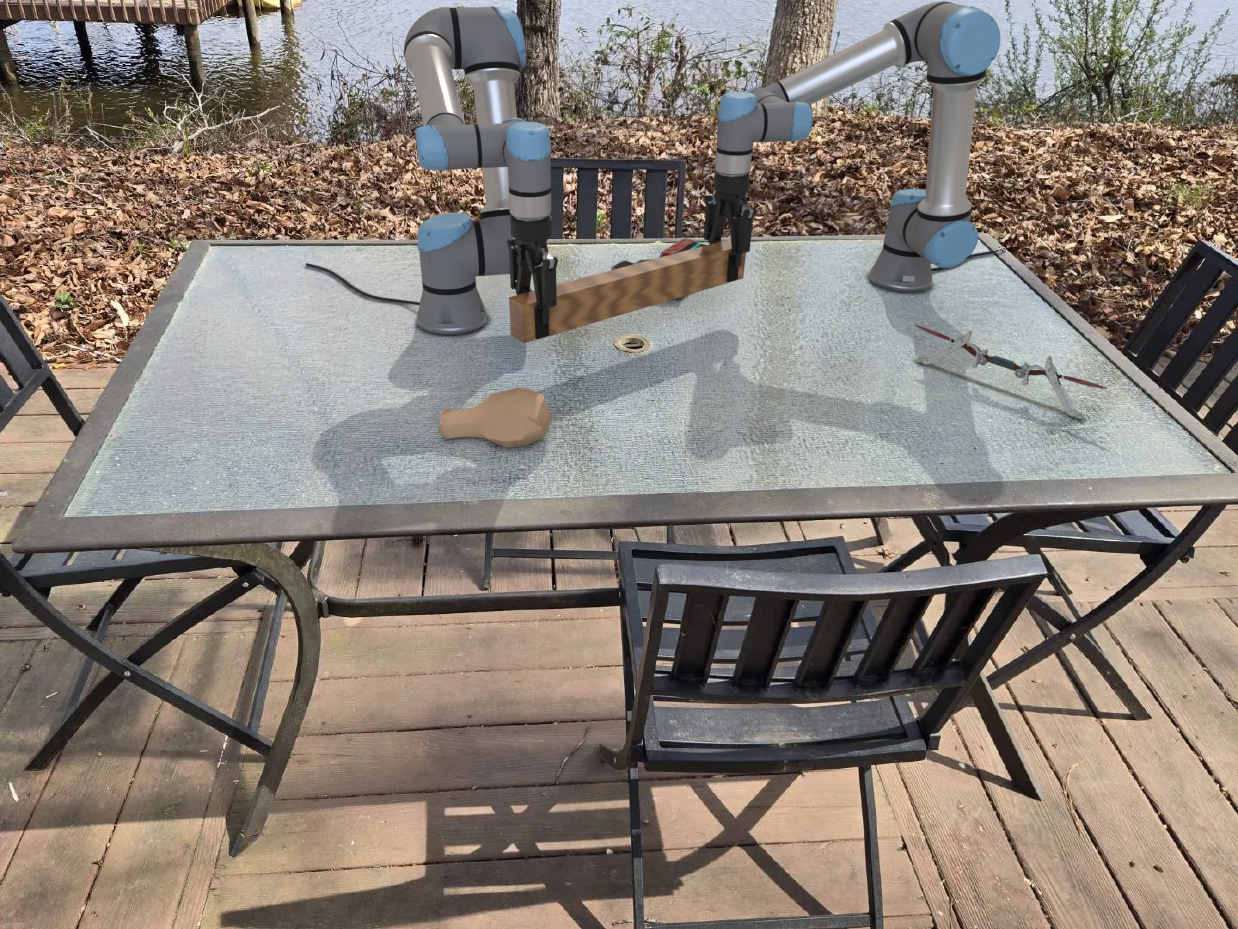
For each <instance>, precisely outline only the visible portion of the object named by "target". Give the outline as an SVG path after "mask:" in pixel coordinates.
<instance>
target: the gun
mask: <svg viewBox="0 0 1238 929" xmlns="http://www.w3.org/2000/svg"><path fill="white" fill-rule="evenodd" d="M706 245H707V244H704V243H700V242H697V241H695V239H692V238H687V237H686V238H682V239H680V240H678V241H677V242H675V243H673V244H672V245H669V247H666V248H665V249H663V250H661V252H660V254H659V256H658V257H657V258H660V257H664V256H668V255H672V254H675V253H679V252H683V251H687V250H691V249H694V248H698V247H702V246H706ZM708 245H710V244H709V243H708ZM653 259H654V258H652V259H651V258H649V259H639V260H636V262H631V261H629V260H626V259H623V260H621V261H620V262H617V263H616V264H613V265H612V266H611V270H614V269H618V268H622V267H626V266H630V265H633V264H637V263H641V262H645V261H649V260H653ZM681 298H682V297H679V298H678V299H681Z"/></svg>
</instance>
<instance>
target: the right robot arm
mask: <svg viewBox="0 0 1238 929" xmlns="http://www.w3.org/2000/svg"><path fill="white" fill-rule="evenodd" d="M1000 47H1001V31H1000V27H999V25H998V22H997V20H996V19H995V18H994V17H993V16H992V15H991V14H990V13H988V12H986V11H984V10H983V9H981V8H980V7H979V8H978V7H976V6H969V5H963V4H958V3H955V2H951V1H944V0H942V1H933V2H930V3H927V4H925V5H922V6H919V7H917V8H915V9H912V10H910V11H908V12H907V13H904V14H902V15H900V16H898V17H896V18H893V19H892V20H890V21H888V22H886V23H885V24H884V25H883V27H882V30H881V31H878V32H876V33H874V34H872V35H871V36H868V37H866V38H865V39H862V40H860V41H858V42H856V43H853V44H852V45H850V46H848V47H846V48H843V49H842V50H840V51H838V52H836V53H833V54H832V55H830V56H828V57H825V58H823V59H821V60H818V61H817V62H814V63H813V64H811V65H809V66H806V67H804V68H803V69H801V70H798V71H796V72H794V73H793V74H790V75H788V76H786V77H784V78H781V79H780V80H778V81H775V82H773V83H770V84H769V85H767V86H765V87H764V86H752V87H749V88H748V89H746V90H745V91H730V92H726V93H724V94H723V95H722V96H721V98H720V101H719V105H718V106H719V107H718V115H717V134H716V148H715V149H716V151H715V157H714V158H715V160H714V170H715V172H714V174H713V185H712V186H713V187H712V188H713V190H714V193H711V194H707V195H705V196H704V197H703V198H704V204H705V212H704V226H703V239H704V240H705V241H707V242H708V245H709V244H713V243H717V242H721V241H723V239H722V237H723V234H724V230H725V226H726V223H729V233H730V239H731V246H732V252H730V253H729V259H728V271H727V282H730V283H733V282H736V281H739V280H738V270H739V267H740V266H741V258H742V254H743V253H746V254H747V253H750V251H751V243H752V233H753V223H754V222H753V221H754V217H755V215H756V213H757V209H756V208H755V207H750V206H749V205H748V203H747V202H748V201H747V198H746V196H747V194H748V192H749V189H750V180H751V174H750V173H749V172H751V166H752V156H753V148H754V143H781V142H784V143H785V142H787V143H788V142H790V143H793V142H798V141H804V140H806V139H807V138H808V137H809V136H810V134H811V132H812V129H813V124H814V123H813V122H814V116H813V115H814V114H813V110H812V108H811V105H814V104H815V103H819V102H820V101H822V100H824V99H826V98H828V97H830V96H832V95H835V94H837V93H838V92H841V91H844V90H845V89H847V88H849V87H851V86H853V85H855V84H857V83H859V82H863V81H864V80H867V79H868V78H870V77H872V76H874V75H877V74H878V73H880V72H883V71H885V70H887V69H889V68H891V67H896V68H898V69H899V68H903V67H904V66H907V65H908V64H909V65H910V64H912V63H916V62H917V63H918V62H927V63H926V64H927V65H926V82H927V84H928V85H930V87H932V89H933V90H932V100H931V102H932V103H931V116H930V128H929V129H930V130H929V141H928V142H929V143H928V144H929V145H928V156H927V171H926V182H925V183H926V185H925V189H922V188H906V189H900V190H897V191H895V193H894V194H893V196H892V198H891V203H890V205H889V207H890V208H889V212H888V218H887V223H886V228H885V234H884V239H883V244H882V249H881V251H880V253H879V254H878V256H877V258H876V261H875V262H874V265H872V267H871V269H870V272H869V276H868V277H869V281H870V282H871V283H872V284H873V285H874V286H877V287H878V288H881V289H883V290H887V291H889V292H890V291H891V292H896V293H904V294H905V293H906V294H915V293H921V292H925V291H928V290H929V289H930V288H931V287H932V284H933V283H932V282H933V273H932V272H938V271H943V270H947V269H950V268H953V267H957V266H958V265H960V264H962V263H964V262H965V261H966V260H969V259H972V258H976V257H982V256H988V255H993V254H995V253H997V252H998V251H1002V252H1003V253H1005V252H1006V249H1005V247H1003V249H1004V250H1005V251H1003V250H1002V249H1000V250H996V251H992V250H989V251H983V252H975V253H974V251H975V249H976V247H977V246H978V241H979V231H978V229H977V227H976V226H975V224H974V223H973V222H971V218H972V210H973V209H972V208H973V206H972V205H973V203H972V202H971V201H970V199H968V198H967V196H966V195H967V187H968V177H969V176H968V175H969V168H970V158H971V157H970V156H971V147H972V137H973V129H974V128H973V127H974V117H975V106H976V98H977V87H978V86H979V84H980V83H981V82H982V81H984V80H985V78H986V75H987V69H988V68H989V67H991V65H992V61H994V60H996V58H997V56H998V52H999V51H1000ZM737 247H738V248H737ZM998 247H999V248H1000V247H1001V246H998ZM932 265H934V266H935V267H932ZM735 280H736V281H735ZM732 281H733V282H732Z"/></svg>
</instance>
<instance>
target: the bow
mask: <svg viewBox="0 0 1238 929" xmlns="http://www.w3.org/2000/svg"><path fill="white" fill-rule="evenodd" d="M914 326H915V327H916V328H918V329H920V330H921V331H924V333H925V332H926V333H928V334H930V335H932V336H935V337H937V338H940V339H943V340H946V341H949V342H950V343H951V345H949V346H945V347H943V348H941V349H939V350H937V351H935V352H934V353H933V354H931V355H930V356H927V357H923V356H918V357H917V358H916V361H917V362H918V363H920V364H922V365H929V366H931V367H934V368H937V369H940V370H943V371H946V372H949V373H952V374H954V375H957V376H960V377H963V378H966V379H969V380H971V381H973V382H976V383H979V384H983V385H985V386H988V387H991V388H993V389H997V390H999V391H1003V392H1005V393H1009V394H1010V395H1014V396H1016V397H1019V398H1022V399H1025V400H1027V401H1030V402H1033V403H1037V404H1040V405H1042V406H1045V407H1048V408H1050V409H1054V410H1056V411H1059V412H1062V413H1063V414H1064V413H1065V414H1067V415H1069V416H1070V417H1072V418H1075V419H1079V420H1082V419H1083V418H1085V416H1086V415H1085V414H1083V413H1082V412H1080V411H1079V410H1078V409H1076V408H1075V407H1074V405H1073V402H1072V399H1071V396H1070V395H1069V393H1068V391H1067V390H1066V388H1065V386H1064V385H1062V382H1061V380H1060V379H1062V378H1063V379H1064V380H1066V381H1069V382H1072V383H1076V384H1078V385H1082V386H1087V387H1090V388H1096V389H1103V390H1107V389H1108V387H1106V386H1103V385H1101V384H1097V383H1095V382H1091V381H1089V380H1084V379H1081V378H1078V377H1073V376H1070V375H1069V376H1068V375H1062V374H1059V372H1058V369H1057V367H1056V366H1055V364H1054V362H1053V358H1052V355H1048V356H1047V357H1046V359H1045V363H1044V367H1043V366H1040V365H1039V364H1033V365H1030V363H1028V362H1027V361H1025V362H1024V363H1023V364H1021V365H1018V364H1017V363H1016V362H1014V360H1010V359H1007V358H1004V357H1001V356H998V355H989V349H987V348H986V349H981V348H980V347H979V346H978V345H976V343H975V344H974V343H968V342H969V341H970V340H971V337H972V333H973V330H969V331H967V332H966V333H965V334H964V335H962V336H960V337H958V338H957V339H954V338H951V337H949V336H947V335H945V334H943V333H941V332H938V331H935V330H933V329H929V328H928V327H924V326H922V325H917V324H914ZM963 349H964V350H965V351H967V352H968V353H969V354H970V355H972V356H973V357H974V358H975V359H974V361H973V362H972V365H971V368H972V369H976V368H978V365H980V366H983V367H985V365H987V364H988V363H990V364H992V365H995V366H998V367H1002V368H1005V369H1007V370H1010V371H1014V376H1015V377H1016V378H1018V379H1022V381H1021V382H1022V383H1021V386H1024V387H1027V386H1028V385H1029V381H1030V378H1029V377H1030V376H1045V378H1047V380H1048V382H1049V383H1050V386H1051V387H1052V388H1053V390H1054V392H1055V395H1056V397H1057V398H1058V400H1059V403H1060V405H1061V407H1062V408H1063V410H1062V409H1059V408H1056V407H1053V406H1050V405H1047V404H1044V403H1042V402H1040V401H1036V400H1033V399H1030V398H1027V397H1025V396H1022V395H1019V394H1016V393H1013V392H1011V391H1007V390H1005V389H1002V388H999V387H996V386H994V385H991V384H988V383H985V382H982V381H979V380H976V379H974V378H971V377H969V376H966V375H962V374H959V373H957V372H953V371H951V370H948V369H945V368H942V367H940V366H937V365H934V364H933V363H936V362H939V361H941V360H943V359H944V358H946V357H948V356H949V355H951V354H953V353H955V352H958V351H960V350H963Z"/></svg>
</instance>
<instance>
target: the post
mask: <svg viewBox="0 0 1238 929" xmlns="http://www.w3.org/2000/svg"><path fill="white" fill-rule="evenodd" d="M705 245H706V246H702V247H698V248H694V249H691V250H687V251H683V252H679V253H675V254H672V255H668V256H664V257H660V258H658V257H657V258H652V259H653V260H649V261H645V262H641V263H637V264H633V265H630V266H626V267H622V268H618V269H614V270H612V269H611V270H607V271H602V272H600V273H595V274H592V275H589V276H584V277H580V278H577V279H573V280H569V281H565V282H562V283H556V288H557V305H556V306H554V307H551V308H549V320H550V321H549V336H547V337H551V336H555V335H559V334H562V333H565V332H568V331H572V330H575V329H578V328H581V327H585V326H589V325H592V324H594V323H595V324H596V323H598V322H601V321H605V320H608V319H612V318H615V317H618V316H622V315H626V314H629V313H632V312H635V311H639V310H642V309H644V308H649V307H652V306H655V305H659V304H662V303H666V302H669V301H673V300H677V299H680V298H679V297H681V298H683V297H686V296H689V295H692V294H695V293H699V292H703V291H706V290H709V289H712V288H716V287H719V286H723V285H726V284H729V283H733V282H736V281H739V280H743V279H744V275H745V268H746V267H745V266H746V259H747V258H746V257H747V252H746V253H743V254H742V258H741V266H740V267H739V270H738V280H735V281H732V282H727V271H728V259H729V253H730V252H732V246H731V238H729V239H725V240H722V241H721V242H717V243H713V244H710V245H709V244H705ZM737 248H738V247H737ZM508 304H509V307H508V308H509V326H510V329H509V330H510V336H511V337H513V338H514V339H516V340H517V341H519V342H520V343H522V344H523V345H525V344H528V343H531V342H535V341H538V340H539V339H536V338H535V308H534V306H537V301H536V295H535V289H534V290H533V291H531V292H527V293H523V294H519V295H517V294H516V295H511V296H509V297H508ZM547 337H544V338H541V339H545V338H547ZM541 339H540V340H541Z"/></svg>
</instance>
